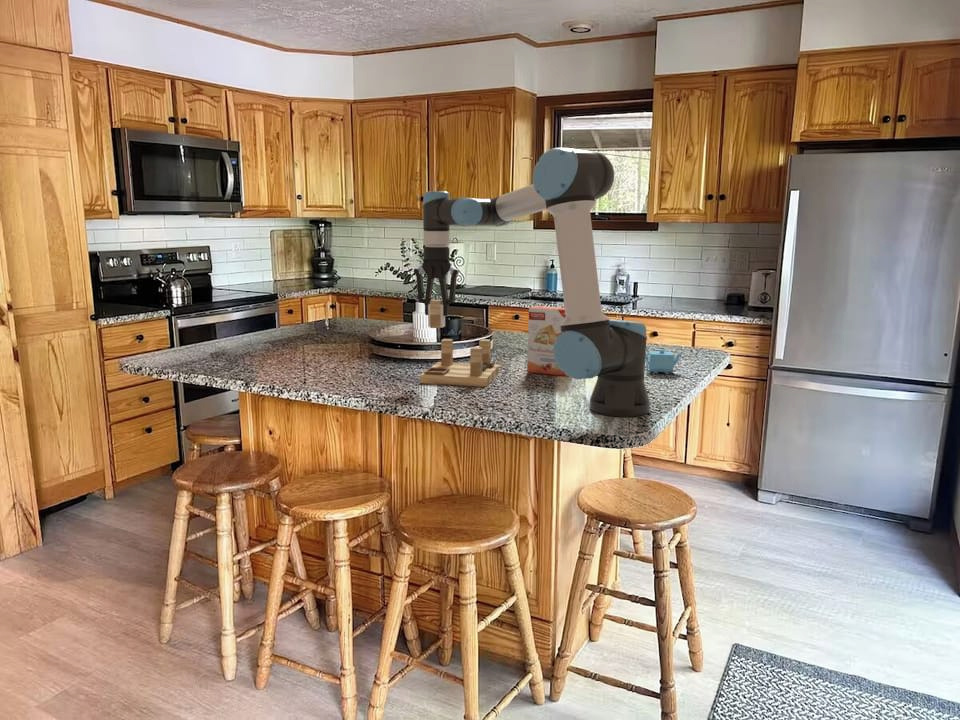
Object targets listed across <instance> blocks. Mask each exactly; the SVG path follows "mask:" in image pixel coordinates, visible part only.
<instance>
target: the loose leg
mask: <svg viewBox="0 0 960 720" xmlns="http://www.w3.org/2000/svg"><path fill="white" fill-rule="evenodd" d="M442 304H443V301H442V299H431V301H430V327H429V328H430V329H441V328H442V327H440V305H442ZM442 329H443V328H442Z"/></svg>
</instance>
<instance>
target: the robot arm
mask: <svg viewBox="0 0 960 720" xmlns="http://www.w3.org/2000/svg"><path fill="white" fill-rule="evenodd" d="M614 181H615V170H614V165H613V163H612V162H611V161H610V159H609V158H608V157H607V156H606V155H605V154H603V153H601V152H599V151H595V150H583V149H577V148H570V147H567V146H565V147H554V148H550V149H548V150H547V151H545V152H544V153H543V154H542V155H541V156H540V157H539V159H538V161H537V162H536V164H535V166H534V169H533V174H532V184H529V185H527V186H526V185H525V186H523V187H521V188H518V189H515V190H511V191H509V192H507V193H504V194H501V195H498V196H494V197H492V198H473V197H466V196H465V197H455V198H452V197H451V198H450V193H449V192H448V191H446V190H445V191H441V190H439V191H438V190H437V191H436V190H435V191H434V190H431V191H429V190H427V191H425V192H424V193H423V201H422V202H423V203H422V215H423V216H422V220H423V226H422V228H423V229H422V230H423V232H422V233H423V235H422V236H423V241H422V242H423V245H424V247H423V248H422V249H423V251H422V252H423V263H422V264H421V266H419V267H416V268H414V269H413V273H414V275H415V278H416V286H417V287H416V289H417V299H418V302H419V303H422V304H423V305H424V315H425V316H427V319H428V320H427V327H428V328H430V301H431V300H432V294H433V287H434V282H435V279H437V280H438V282H439V288H440V294H441V300H442V301H443V304H442V305H440V327H442V329H443V328H444V327H446V317H447V316H448V315H449V305H451V304H452V303H454V302H455V300H456V290H457V278H458V276H459V273H460V270H459V268H454V267H453V266H452V264H451V261H450V247H449V245H450V226H455V227H457V226H459V227H473V226H474V227H475V226H477V227H480V226H481V227H482V226H487V227H489V226H491V227H502V226H506V225H509V224H510V223H511V222H512V221H513V220H517V219H520V218H523V217H526V216H529V215H532V214H536V213H539V212H543V211H546V212H548V213H549V214H550V215H552V216H553V221H554V230H555V237H556V246H557V255H558V262H559V272H560V280H561V289H562V296H563V304H564V308H565V314H566V317H565V319H564V320H563V321H562V323H561V324H560V326H561V335H559V336H558V338H557V339H556V340H557V341H556V342H555V343H554V357H555V360H556V363H557V365H558V366H559V368H560V369H561V370H562V371H563V372H564V373H565V374H566V375H567V376H566V377H569V378H571V379H576V380H584V379H593V378H595V377H597V379H596V383H595V385H594V388H593V390H592V392H591V393H592V394H591V396H590V397H589V409H590V410H591V411H593V412H595V413H597V414H601V415H604V416H610V417H625V418H626V417H630V418H631V417H639V416H644V415H646V414H648V413H650V410H651V408H650V406H651V402H650V397H649V394H648V391H647V387H646V383H645V367H646V359H645V355H646V354H647V353H646V351H647V350H646V349H647V340H648V336H647V327H646V325H645V324H644V323H643V322H641V321H639V322H638V321H632V320H623V319H614V318H609V317H608V316H607V314H604V313H603V311H602V303H601V294H600V286H599V285H600V284H599V277H598V268H597V260H596V253H595V252H596V251H595V243H594V235H593V226H592V225H593V224H592V218H591V217H592V216H591V210H593V207H594V206H595V205H596V200H599V199H601V198H603V197H604V196H606V195H607V194H608V193H609V191H610V190H611V189H612V187H613V185H614ZM424 272H425V275H426V276H427V278H426V281H427V282H426V289H424V288H425V287H424V277H423V273H424ZM448 273H449V274H450V275H451V276H450V283H449V284H450V285H449V293H448V288H447V287H448V286H447V282H446V280H447V278H446V276H447V275H448ZM448 295H449V296H448Z"/></svg>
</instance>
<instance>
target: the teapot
mask: <svg viewBox="0 0 960 720" xmlns="http://www.w3.org/2000/svg"><path fill="white" fill-rule="evenodd" d="M684 354H685V353H683V352H681V353H678V354H677V355H676V356H675V355H674V353H673V351H666V350H665V349H663V348H662V349H661V348H660V349H659V350H650V351H649V352H648V353H646V355H645V362H647V363H645V367H646V368H648V370H649V372H651V373H652V374H653V373H657V374H658V373H663V374H664V373H665V374H664V375H666V374H669V375H670V373H673V372H674V367H675V366H676V365H677V363H678V362H679V359H680V357H681V356H682V355H684ZM648 356H649V357H648Z"/></svg>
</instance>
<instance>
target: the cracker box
mask: <svg viewBox="0 0 960 720" xmlns="http://www.w3.org/2000/svg"><path fill="white" fill-rule="evenodd" d="M565 317H566V314H565V307H560V306H544V305H534V306H530V307H529V308H528V325H527V326H528V327H527V328H528V331H527V332H528V333H527V336H528V338H527V369H526V370H527V373H531V374H541V375H552V376H562V377H563V376H565V377H568V376H567V375H566V374H565V373H564V372H563V371H562V370H561V369H560V368H559V366H558V365H557V363H556V360H555V357H554V343H555V342H556V341H557V340H556V339H557V338H558V336H559V335H561V326H560V324H561V323H562V321H563V320H564V319H565Z"/></svg>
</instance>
